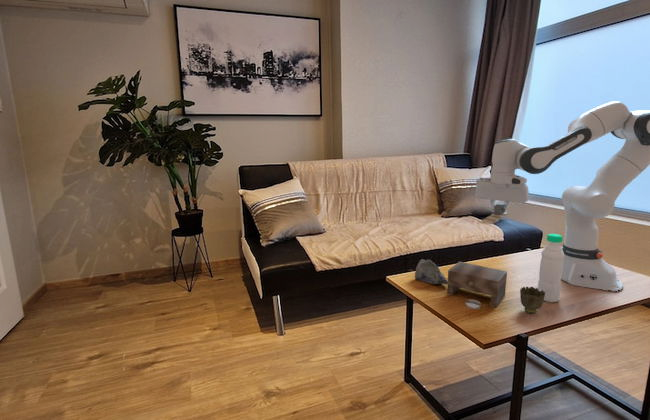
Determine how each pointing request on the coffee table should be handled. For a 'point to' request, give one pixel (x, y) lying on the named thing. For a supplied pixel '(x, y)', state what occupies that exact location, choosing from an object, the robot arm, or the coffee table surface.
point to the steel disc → (473, 304)
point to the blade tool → (496, 214)
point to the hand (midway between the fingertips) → (499, 210)
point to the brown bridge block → (478, 281)
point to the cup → (531, 299)
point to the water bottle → (551, 268)
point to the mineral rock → (429, 273)
